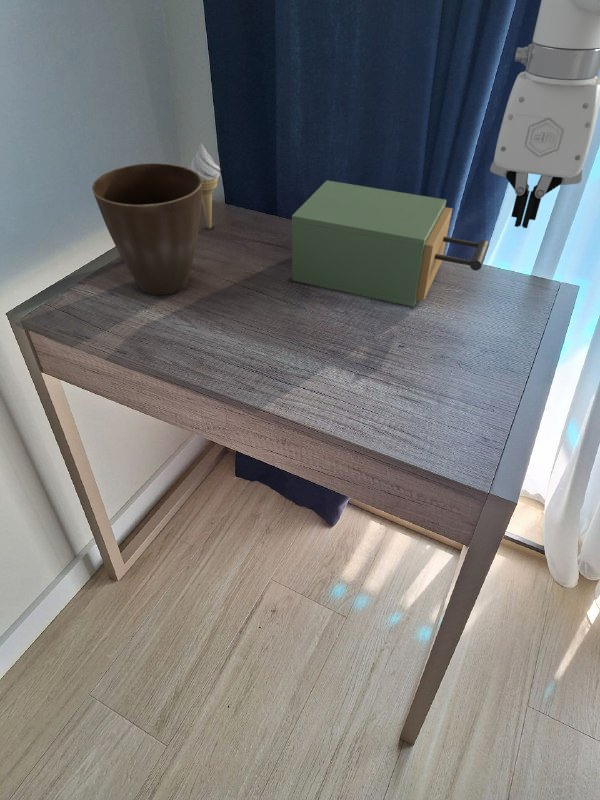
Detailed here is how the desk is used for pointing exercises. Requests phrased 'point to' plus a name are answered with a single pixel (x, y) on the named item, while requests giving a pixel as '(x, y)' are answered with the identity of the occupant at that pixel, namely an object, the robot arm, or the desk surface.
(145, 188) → the plant pot
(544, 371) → the desk surface
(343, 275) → the cabinet
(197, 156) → the ice cream cone
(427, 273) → the drawer
